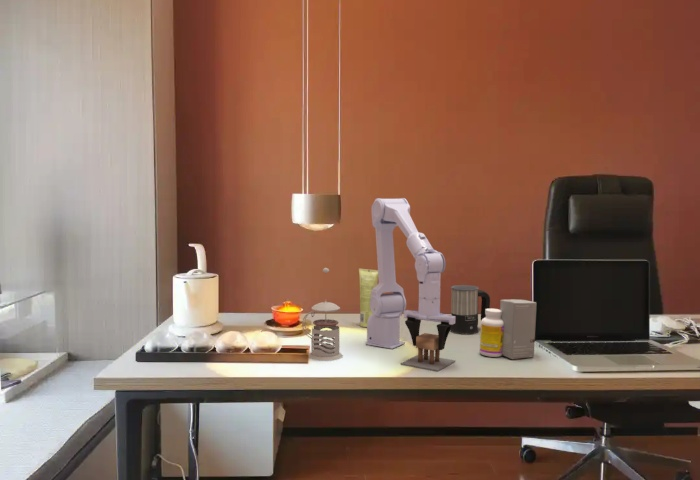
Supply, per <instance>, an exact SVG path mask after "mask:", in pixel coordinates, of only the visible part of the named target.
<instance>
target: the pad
mask: <svg viewBox="0 0 700 480" xmlns="http://www.w3.org/2000/svg"><path fill="white" fill-rule="evenodd" d="M429 360H430V355H428V360H424V354H423V362H422V363H420V362H418V354H416V355H415V356H413V357H411V358H408V359H407V360H404V361H403V362H400V365H401V366H406V367H410V368H411V367H413V368H417V369H423V370H426V371H427V370H428V371H433V372H439V371H441V370H443V369H446V368H447V367H449V366H450V365H452V364H454V363H456V359H449V358H444V357H439V362H436V361H435V356H434V364H433V365H431V364H429Z"/></svg>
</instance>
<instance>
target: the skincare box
mask: <svg viewBox="0 0 700 480" xmlns="http://www.w3.org/2000/svg"><path fill="white" fill-rule="evenodd" d="M499 302H500V304H499V307H500V308H499V310H501V311H502V315H501V319H502V321H503V323H504V329H503V344H502V356H503V357H505V358H508V359H510V360H517V359H526V358H534V356H535V342H536V341H535V339H536V322H537V301H531V300H527V299H515V298H513V299H512V298H511V299H500V301H499Z"/></svg>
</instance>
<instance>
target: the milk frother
mask: <svg viewBox="0 0 700 480" xmlns="http://www.w3.org/2000/svg"><path fill="white" fill-rule="evenodd" d="M450 288H451V307H450V308H451V310H450V311H451V313H450V314H451V315H450V316H455V324H453V326H452V328H451V330H450V332H451V333H454V334H458V335H461V334H462V335H473V334H477V333H478V332H479V326H478V325H479V297H480V298H481V305H480V306H481V307H480V322H481V321H482V319H483V318H485V317H486V315H485V310H486V309H491V308H490V307H491V306H490V305H491V296H490V295H489V293H488V292H486V291H485V290H481V289H480V288H479V286H476V285H470V284H469V285H467V284H461V285H459V284H458V285H452V286H451V287H450Z"/></svg>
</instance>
